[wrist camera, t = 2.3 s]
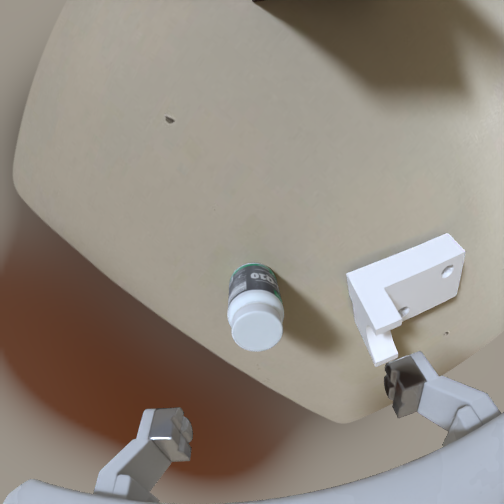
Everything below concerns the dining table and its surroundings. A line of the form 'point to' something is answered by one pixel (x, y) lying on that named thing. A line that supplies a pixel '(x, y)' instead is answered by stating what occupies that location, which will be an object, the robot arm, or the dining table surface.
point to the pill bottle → (255, 307)
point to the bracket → (403, 290)
